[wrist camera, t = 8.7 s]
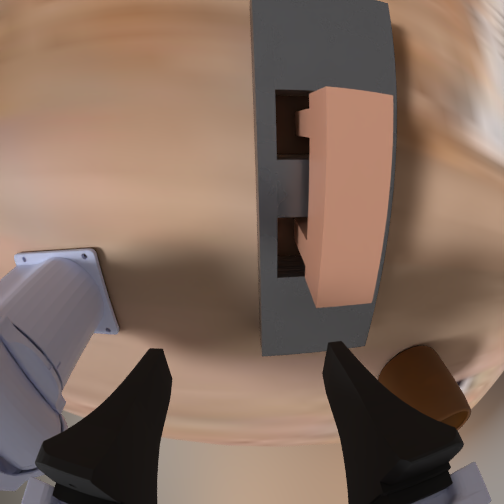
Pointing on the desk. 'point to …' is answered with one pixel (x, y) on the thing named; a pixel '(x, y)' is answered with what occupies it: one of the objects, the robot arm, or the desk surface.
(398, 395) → the mug
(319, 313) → the grey slotted tapered plate
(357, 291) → the tan tabbed block
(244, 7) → the desk surface
